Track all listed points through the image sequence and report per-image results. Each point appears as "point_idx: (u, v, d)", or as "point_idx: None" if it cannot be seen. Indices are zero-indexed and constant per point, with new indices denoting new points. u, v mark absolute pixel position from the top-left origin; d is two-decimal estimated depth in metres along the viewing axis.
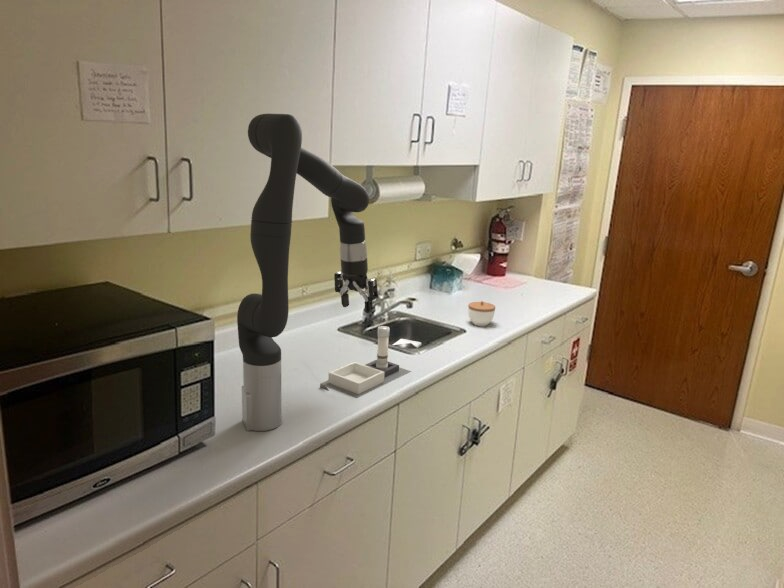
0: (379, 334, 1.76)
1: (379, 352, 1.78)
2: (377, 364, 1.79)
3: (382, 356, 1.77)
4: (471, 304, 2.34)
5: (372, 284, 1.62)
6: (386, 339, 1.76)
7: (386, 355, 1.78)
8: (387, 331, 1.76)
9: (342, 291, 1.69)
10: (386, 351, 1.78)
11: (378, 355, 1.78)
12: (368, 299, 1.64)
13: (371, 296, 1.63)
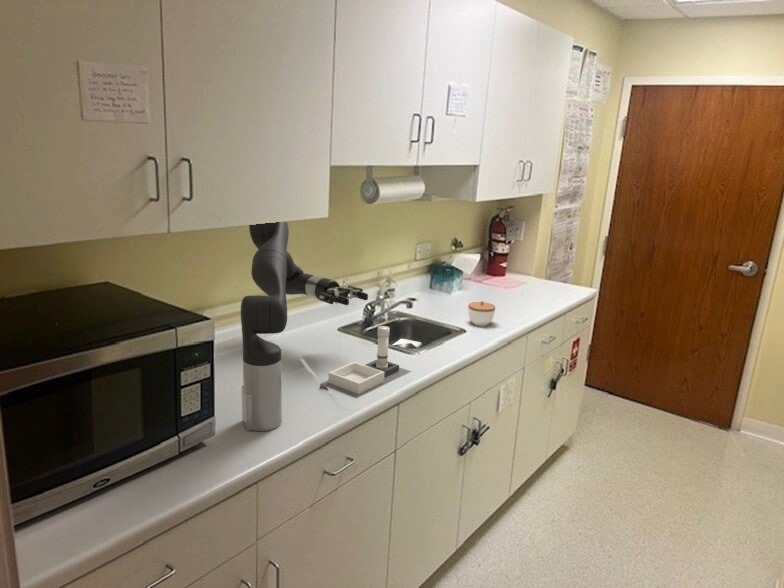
0: (379, 334, 1.76)
1: (379, 352, 1.78)
2: (377, 364, 1.79)
3: (382, 356, 1.77)
4: (471, 304, 2.34)
5: None
6: (386, 339, 1.76)
7: (386, 355, 1.78)
8: (387, 331, 1.76)
9: (336, 294, 1.82)
10: (386, 351, 1.78)
11: (378, 355, 1.78)
12: None
13: (359, 288, 1.90)
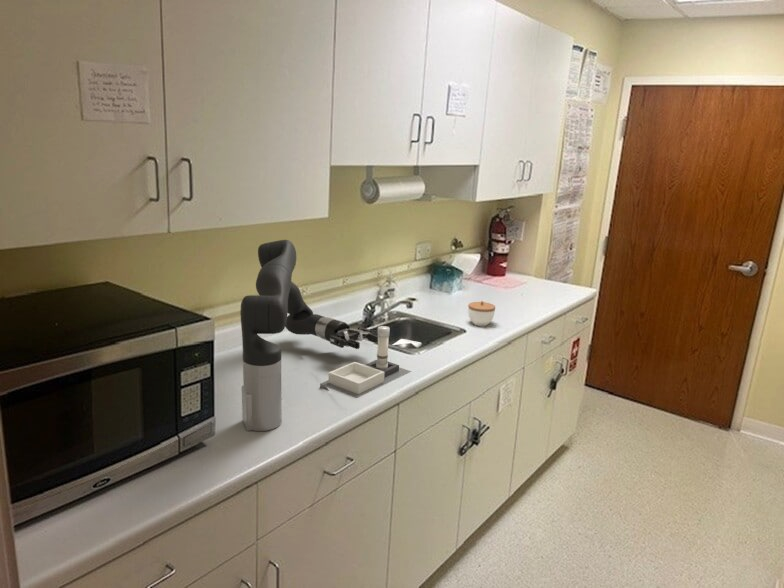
0: (379, 334, 1.76)
1: (379, 352, 1.77)
2: (377, 364, 1.79)
3: (382, 356, 1.77)
4: (471, 304, 2.34)
5: None
6: (386, 339, 1.76)
7: (386, 355, 1.78)
8: (387, 331, 1.76)
9: (347, 337, 1.82)
10: (386, 351, 1.78)
11: (378, 355, 1.78)
12: None
13: (369, 330, 1.90)
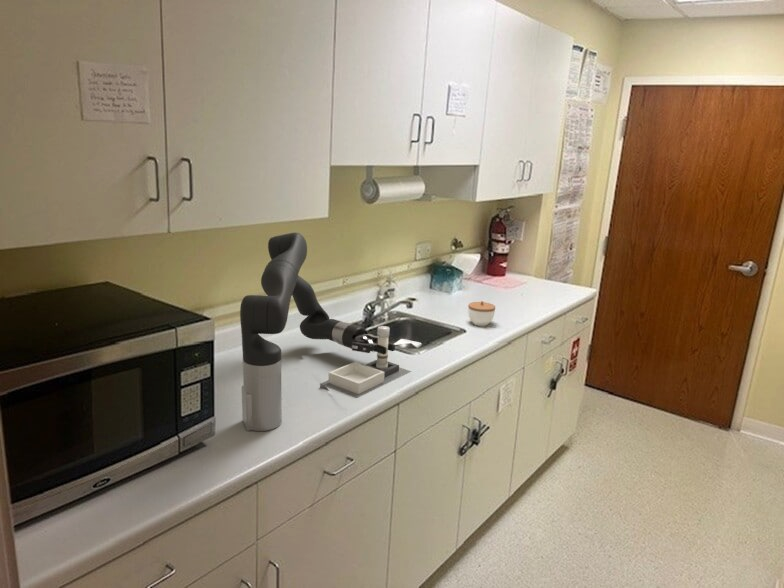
0: (379, 334, 1.76)
1: None
2: (377, 364, 1.79)
3: (382, 356, 1.77)
4: (471, 304, 2.34)
5: None
6: (386, 339, 1.76)
7: (386, 355, 1.78)
8: (387, 331, 1.76)
9: (372, 343, 1.78)
10: None
11: (378, 355, 1.78)
12: None
13: None
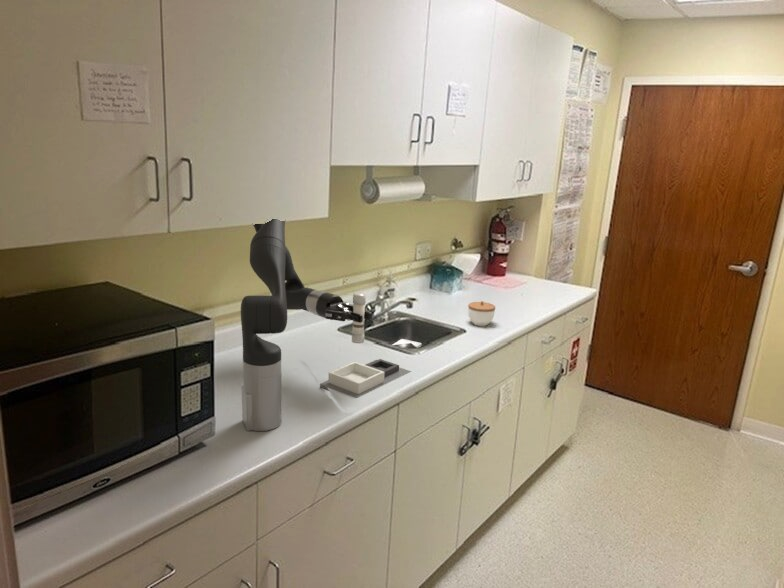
0: (354, 301, 1.63)
1: (355, 321, 1.65)
2: (353, 334, 1.66)
3: (358, 324, 1.65)
4: (471, 304, 2.34)
5: None
6: (362, 306, 1.64)
7: (362, 324, 1.65)
8: (363, 298, 1.63)
9: (347, 310, 1.65)
10: None
11: (354, 324, 1.65)
12: None
13: None
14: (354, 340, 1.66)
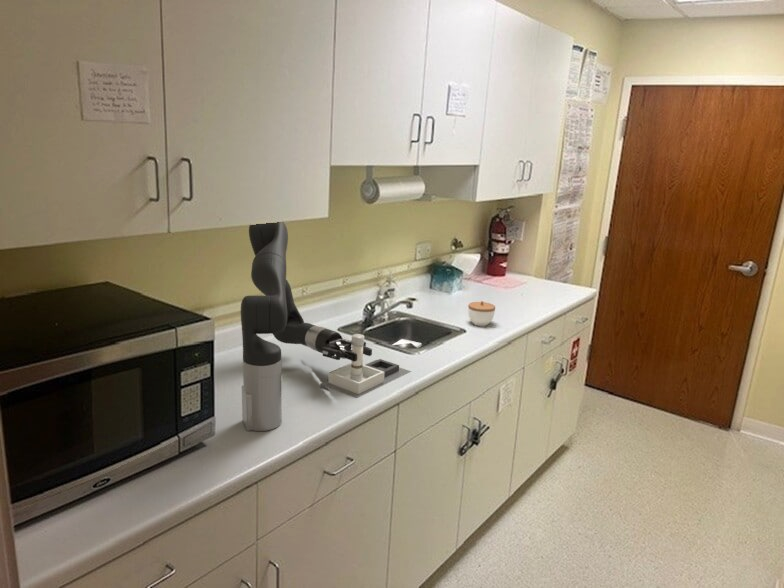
0: (353, 343, 1.66)
1: (353, 362, 1.68)
2: (351, 374, 1.70)
3: (356, 365, 1.68)
4: (471, 304, 2.34)
5: None
6: (360, 348, 1.67)
7: (361, 365, 1.69)
8: (361, 340, 1.66)
9: (343, 349, 1.68)
10: (361, 361, 1.68)
11: (352, 365, 1.69)
12: None
13: None
14: None
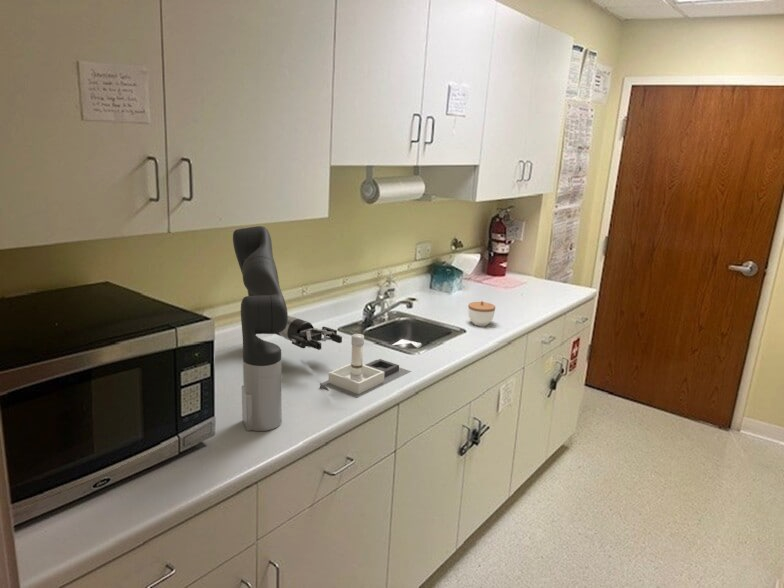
0: (353, 342, 1.67)
1: (353, 361, 1.68)
2: (351, 374, 1.70)
3: (356, 365, 1.68)
4: (471, 304, 2.34)
5: None
6: (360, 348, 1.67)
7: (360, 364, 1.69)
8: (361, 339, 1.66)
9: (309, 338, 1.75)
10: (360, 360, 1.68)
11: (352, 364, 1.69)
12: None
13: (333, 330, 1.84)
14: None
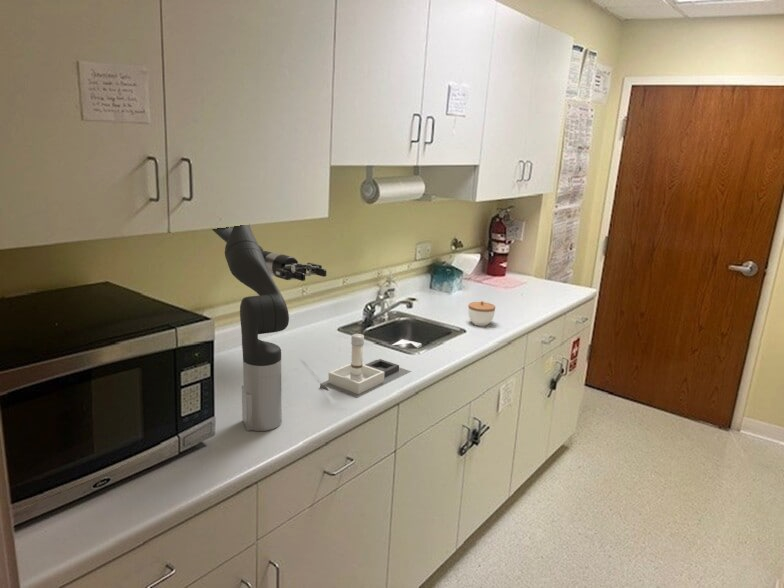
0: (353, 342, 1.67)
1: (353, 361, 1.68)
2: (351, 374, 1.70)
3: (356, 365, 1.68)
4: (471, 304, 2.34)
5: None
6: (360, 348, 1.67)
7: (360, 364, 1.69)
8: (361, 339, 1.66)
9: (293, 270, 1.75)
10: (360, 360, 1.68)
11: (352, 364, 1.69)
12: None
13: (318, 265, 1.83)
14: None
